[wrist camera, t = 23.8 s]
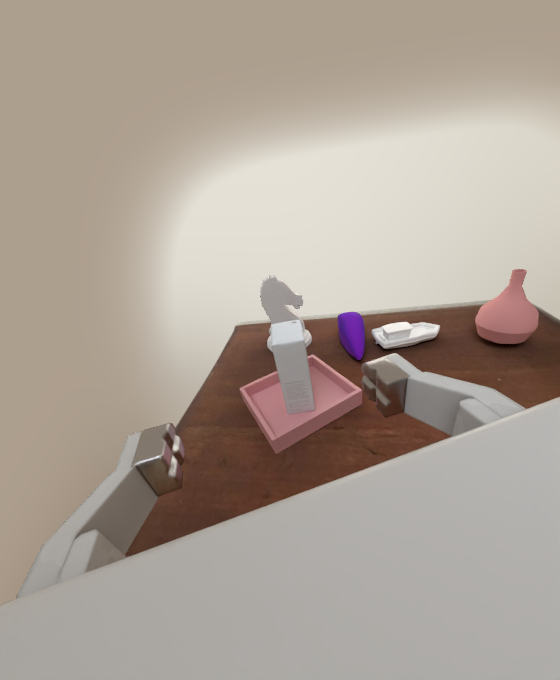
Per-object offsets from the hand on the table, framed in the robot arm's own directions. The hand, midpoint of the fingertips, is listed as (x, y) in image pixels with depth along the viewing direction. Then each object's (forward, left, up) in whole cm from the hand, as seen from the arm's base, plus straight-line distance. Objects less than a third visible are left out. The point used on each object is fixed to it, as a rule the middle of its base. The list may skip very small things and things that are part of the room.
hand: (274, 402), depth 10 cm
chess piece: (+17, +36, -20) cm, 45 cm away
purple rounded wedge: (+26, +26, -20) cm, 42 cm away
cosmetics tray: (+9, +19, -20) cm, 29 cm away
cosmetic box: (+9, +19, -20) cm, 29 cm away
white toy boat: (+34, +20, -20) cm, 45 cm away
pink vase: (+44, +10, -20) cm, 50 cm away
